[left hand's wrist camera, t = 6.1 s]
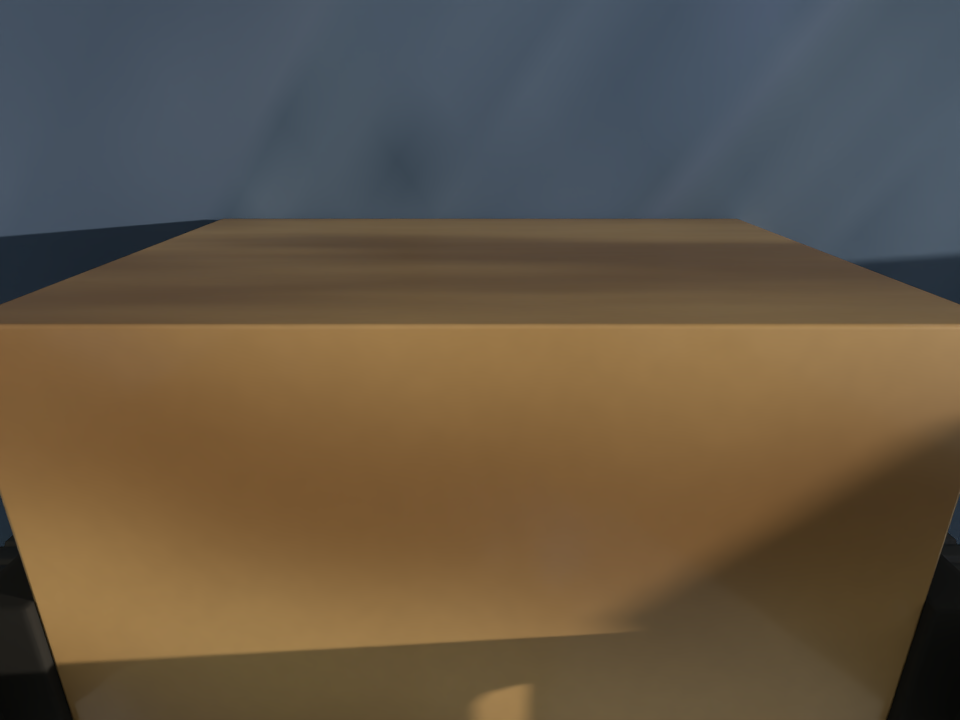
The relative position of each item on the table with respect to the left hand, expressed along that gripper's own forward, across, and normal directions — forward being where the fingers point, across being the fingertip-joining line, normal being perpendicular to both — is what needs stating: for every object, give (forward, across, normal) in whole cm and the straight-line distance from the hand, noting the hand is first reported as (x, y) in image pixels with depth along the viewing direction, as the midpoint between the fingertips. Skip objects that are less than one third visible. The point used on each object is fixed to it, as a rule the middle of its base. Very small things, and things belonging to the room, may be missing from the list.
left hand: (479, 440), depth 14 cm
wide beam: (+1, 0, -36) cm, 36 cm away
